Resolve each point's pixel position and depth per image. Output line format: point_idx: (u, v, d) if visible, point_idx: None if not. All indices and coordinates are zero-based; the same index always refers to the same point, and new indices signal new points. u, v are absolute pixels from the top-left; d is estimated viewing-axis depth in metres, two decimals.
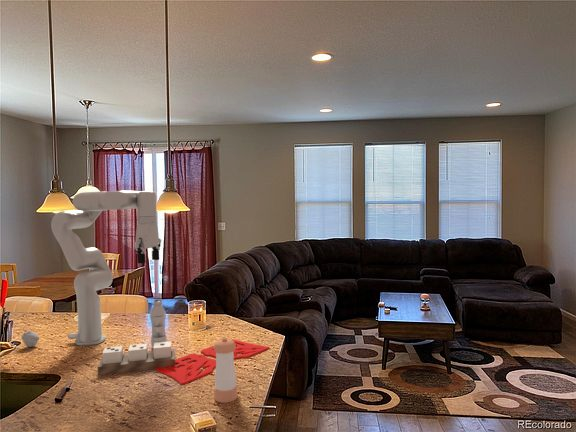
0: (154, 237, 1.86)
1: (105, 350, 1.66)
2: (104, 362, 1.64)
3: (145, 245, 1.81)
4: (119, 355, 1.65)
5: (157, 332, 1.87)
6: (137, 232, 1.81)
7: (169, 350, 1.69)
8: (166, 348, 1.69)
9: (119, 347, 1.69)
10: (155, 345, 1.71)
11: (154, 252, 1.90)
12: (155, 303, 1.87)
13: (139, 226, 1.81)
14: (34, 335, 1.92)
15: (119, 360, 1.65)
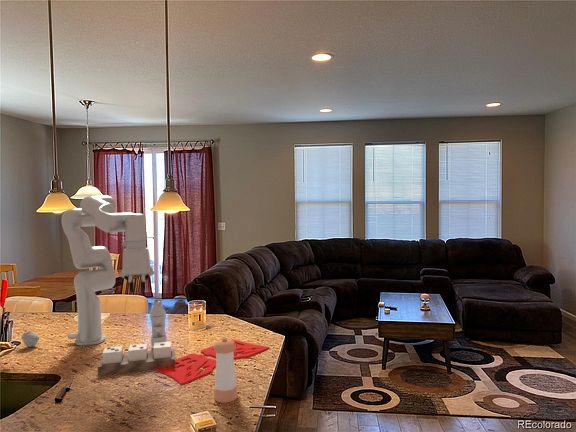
0: None
1: (105, 350, 1.66)
2: (104, 362, 1.64)
3: None
4: (119, 355, 1.65)
5: (157, 332, 1.87)
6: (149, 256, 1.73)
7: (169, 350, 1.69)
8: (166, 348, 1.69)
9: (119, 347, 1.69)
10: (155, 345, 1.71)
11: (133, 283, 1.74)
12: (155, 303, 1.87)
13: (148, 250, 1.74)
14: (34, 335, 1.92)
15: (119, 360, 1.65)
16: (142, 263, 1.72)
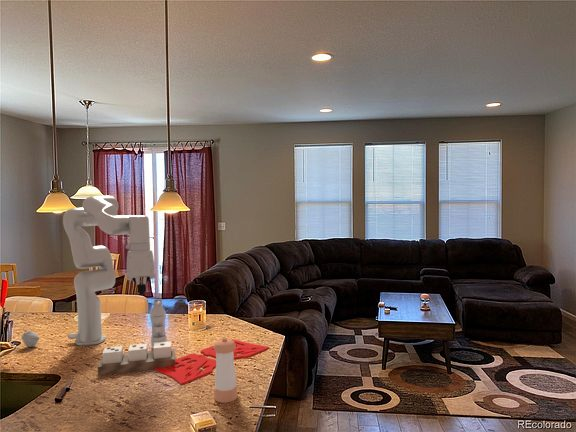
0: None
1: (105, 350, 1.66)
2: (104, 362, 1.64)
3: None
4: (119, 355, 1.65)
5: (157, 332, 1.87)
6: (153, 258, 1.73)
7: (169, 350, 1.69)
8: (166, 348, 1.69)
9: (119, 347, 1.69)
10: (155, 345, 1.71)
11: (141, 286, 1.73)
12: (155, 303, 1.87)
13: None
14: (34, 335, 1.92)
15: (119, 360, 1.65)
16: (146, 265, 1.71)
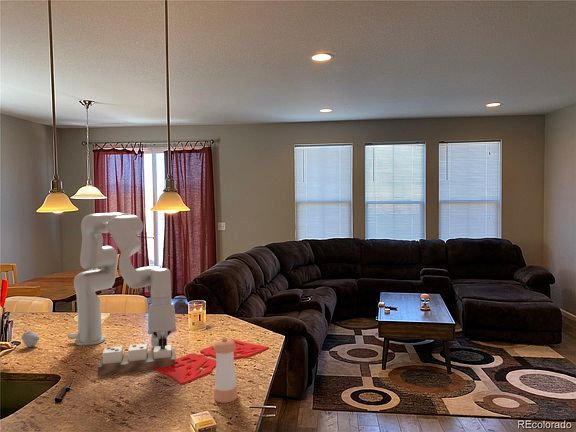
0: None
1: (105, 350, 1.66)
2: (104, 362, 1.64)
3: None
4: (119, 355, 1.65)
5: None
6: (174, 312, 1.71)
7: (169, 354, 1.69)
8: (166, 352, 1.69)
9: (119, 347, 1.69)
10: (155, 349, 1.71)
11: (162, 339, 1.71)
12: None
13: (173, 305, 1.71)
14: (34, 335, 1.92)
15: (119, 360, 1.65)
16: (168, 319, 1.69)
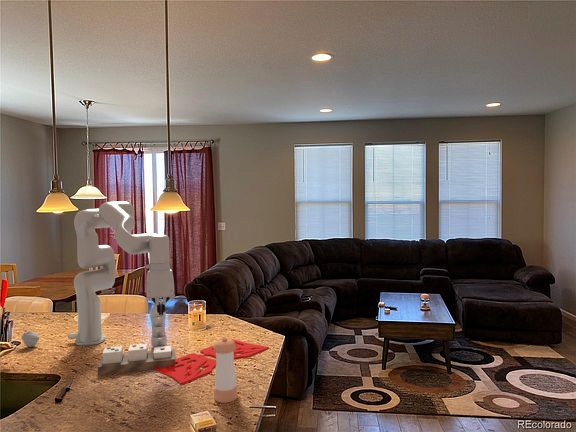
0: None
1: (105, 350, 1.66)
2: (104, 362, 1.64)
3: None
4: (119, 355, 1.65)
5: (157, 332, 1.87)
6: None
7: (169, 355, 1.69)
8: (166, 353, 1.69)
9: (119, 347, 1.69)
10: (155, 350, 1.71)
11: None
12: None
13: (172, 272, 1.71)
14: (34, 335, 1.92)
15: (119, 360, 1.65)
16: (166, 285, 1.68)
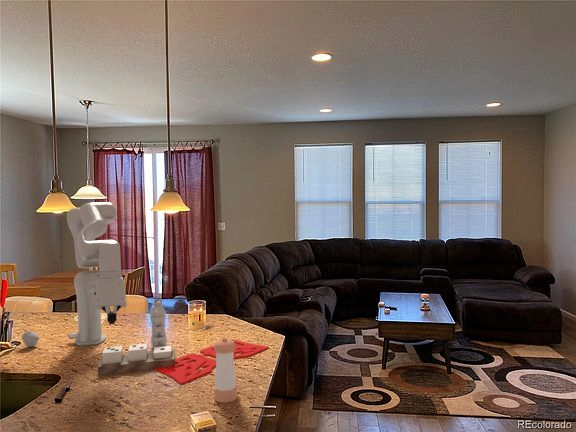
0: None
1: (105, 350, 1.66)
2: (104, 362, 1.64)
3: None
4: (119, 355, 1.65)
5: (157, 332, 1.87)
6: (124, 286, 1.66)
7: (169, 355, 1.69)
8: (166, 353, 1.69)
9: (119, 347, 1.69)
10: (155, 350, 1.71)
11: (111, 315, 1.66)
12: (155, 303, 1.87)
13: None
14: (34, 335, 1.92)
15: (119, 360, 1.65)
16: (116, 294, 1.64)
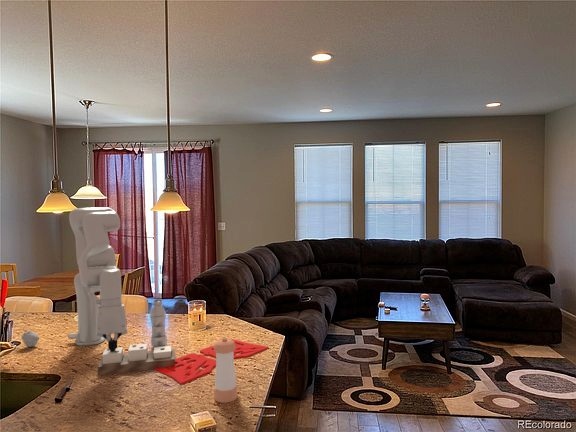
0: None
1: (105, 351, 1.66)
2: (104, 363, 1.64)
3: None
4: (119, 356, 1.65)
5: (157, 332, 1.87)
6: (124, 313, 1.66)
7: (169, 355, 1.69)
8: (166, 353, 1.69)
9: (119, 348, 1.69)
10: (155, 350, 1.71)
11: None
12: (155, 303, 1.87)
13: (124, 307, 1.67)
14: (34, 335, 1.92)
15: (119, 361, 1.65)
16: (117, 321, 1.64)
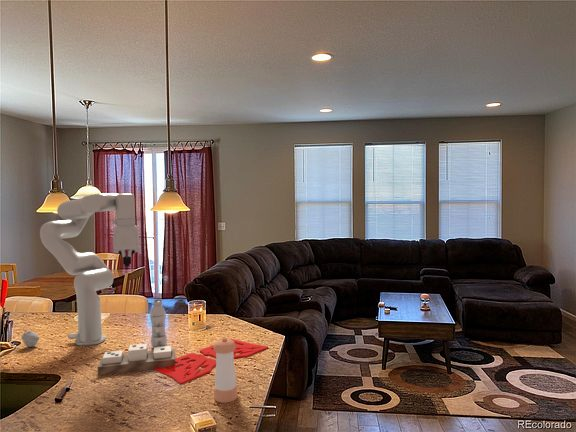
0: None
1: (105, 355, 1.66)
2: None
3: None
4: (119, 360, 1.65)
5: (157, 332, 1.87)
6: (138, 233, 1.87)
7: (169, 355, 1.69)
8: (166, 353, 1.69)
9: (119, 352, 1.69)
10: (155, 350, 1.71)
11: None
12: (155, 303, 1.87)
13: None
14: (34, 335, 1.92)
15: None
16: (131, 239, 1.85)
